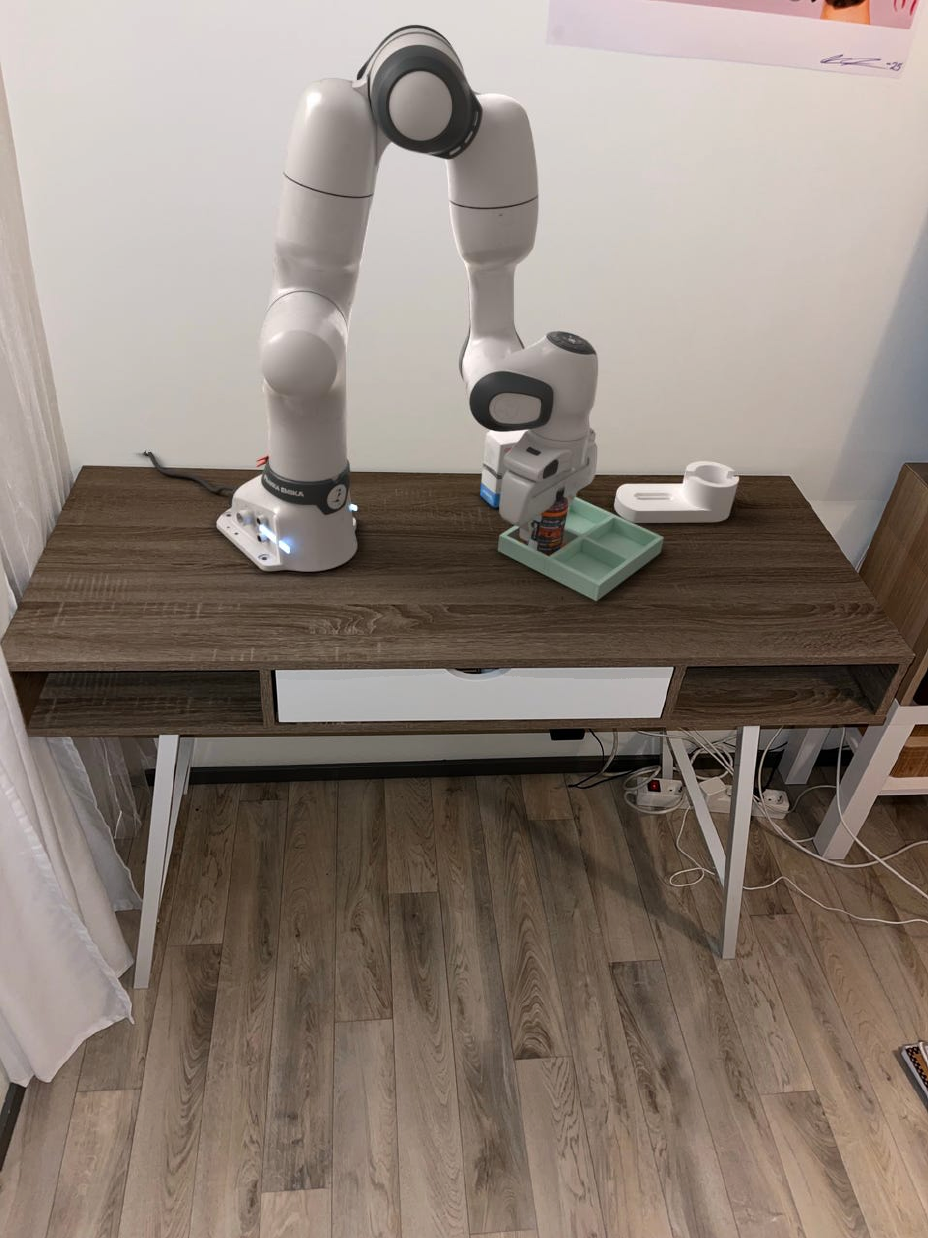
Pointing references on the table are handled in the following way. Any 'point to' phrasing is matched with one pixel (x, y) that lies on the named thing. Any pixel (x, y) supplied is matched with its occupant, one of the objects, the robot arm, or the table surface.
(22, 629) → the table surface
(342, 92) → the robot arm
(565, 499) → the supplement bottle
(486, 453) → the ink box
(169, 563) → the table surface
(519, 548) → the organiser
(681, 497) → the bracket
